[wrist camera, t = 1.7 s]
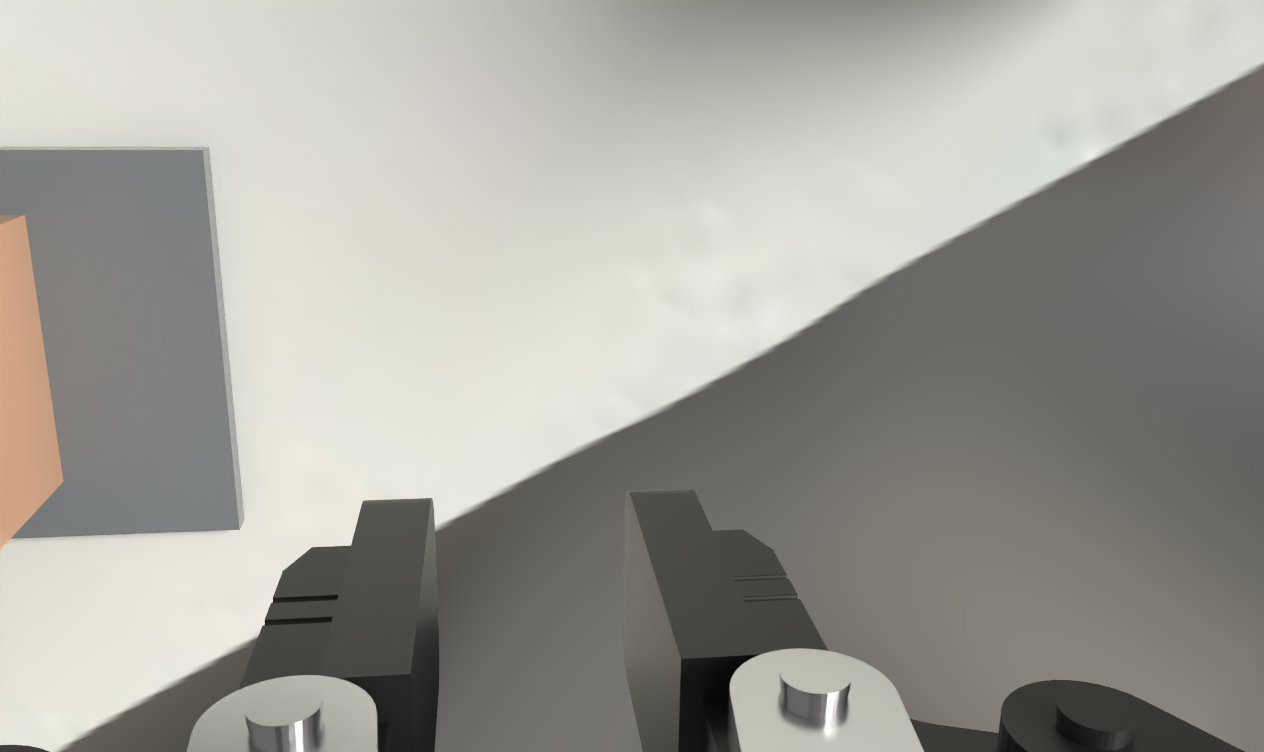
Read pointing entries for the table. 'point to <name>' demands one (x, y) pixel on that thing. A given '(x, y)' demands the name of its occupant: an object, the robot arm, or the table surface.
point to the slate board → (130, 337)
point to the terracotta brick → (23, 388)
